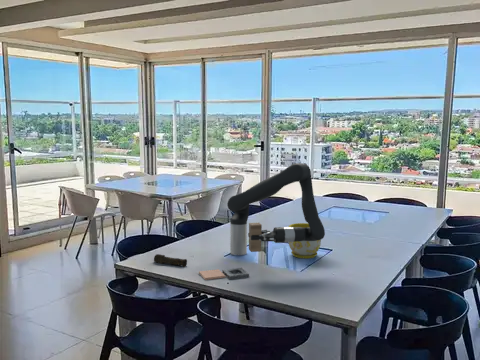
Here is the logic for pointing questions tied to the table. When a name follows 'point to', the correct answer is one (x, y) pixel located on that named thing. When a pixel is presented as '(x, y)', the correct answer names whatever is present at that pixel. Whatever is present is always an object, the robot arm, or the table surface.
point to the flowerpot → (304, 245)
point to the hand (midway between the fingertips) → (249, 236)
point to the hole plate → (234, 276)
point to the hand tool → (169, 260)
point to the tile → (211, 274)
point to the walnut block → (255, 230)
